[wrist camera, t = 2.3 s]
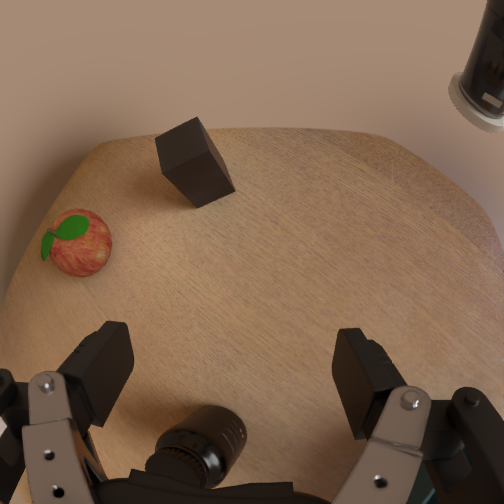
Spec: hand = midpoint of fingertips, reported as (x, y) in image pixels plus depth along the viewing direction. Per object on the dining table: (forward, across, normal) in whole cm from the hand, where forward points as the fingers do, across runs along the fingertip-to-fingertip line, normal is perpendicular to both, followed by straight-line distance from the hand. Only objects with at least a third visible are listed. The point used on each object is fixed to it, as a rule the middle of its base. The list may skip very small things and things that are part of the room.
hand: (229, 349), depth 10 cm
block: (+27, +4, -5) cm, 27 cm away
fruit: (+26, +20, +4) cm, 33 cm away
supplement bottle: (+12, +2, +20) cm, 24 cm away
